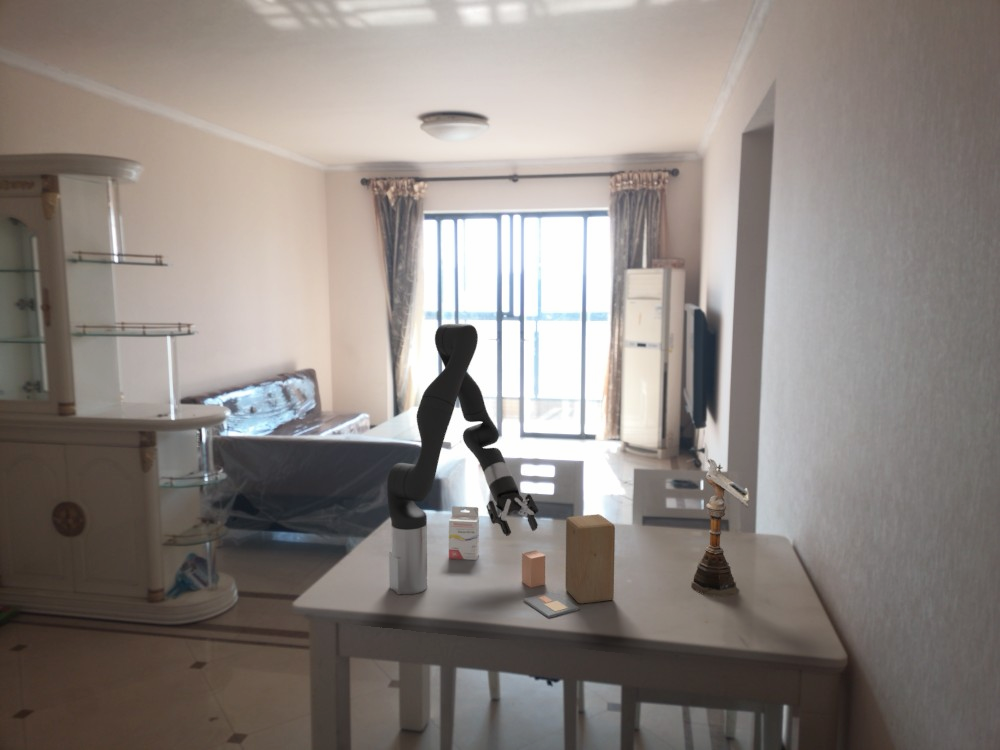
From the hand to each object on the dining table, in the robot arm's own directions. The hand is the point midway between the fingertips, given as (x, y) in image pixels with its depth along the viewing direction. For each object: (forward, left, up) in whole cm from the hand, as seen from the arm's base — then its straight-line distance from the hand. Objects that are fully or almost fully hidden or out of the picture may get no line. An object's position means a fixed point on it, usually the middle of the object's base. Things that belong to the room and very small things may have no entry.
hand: (522, 531), depth 192 cm
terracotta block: (0, -6, -12) cm, 14 cm away
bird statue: (+42, -34, -13) cm, 55 cm away
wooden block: (+8, -20, -13) cm, 25 cm away
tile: (-4, -20, -12) cm, 24 cm away
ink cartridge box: (-7, +21, -13) cm, 26 cm away
